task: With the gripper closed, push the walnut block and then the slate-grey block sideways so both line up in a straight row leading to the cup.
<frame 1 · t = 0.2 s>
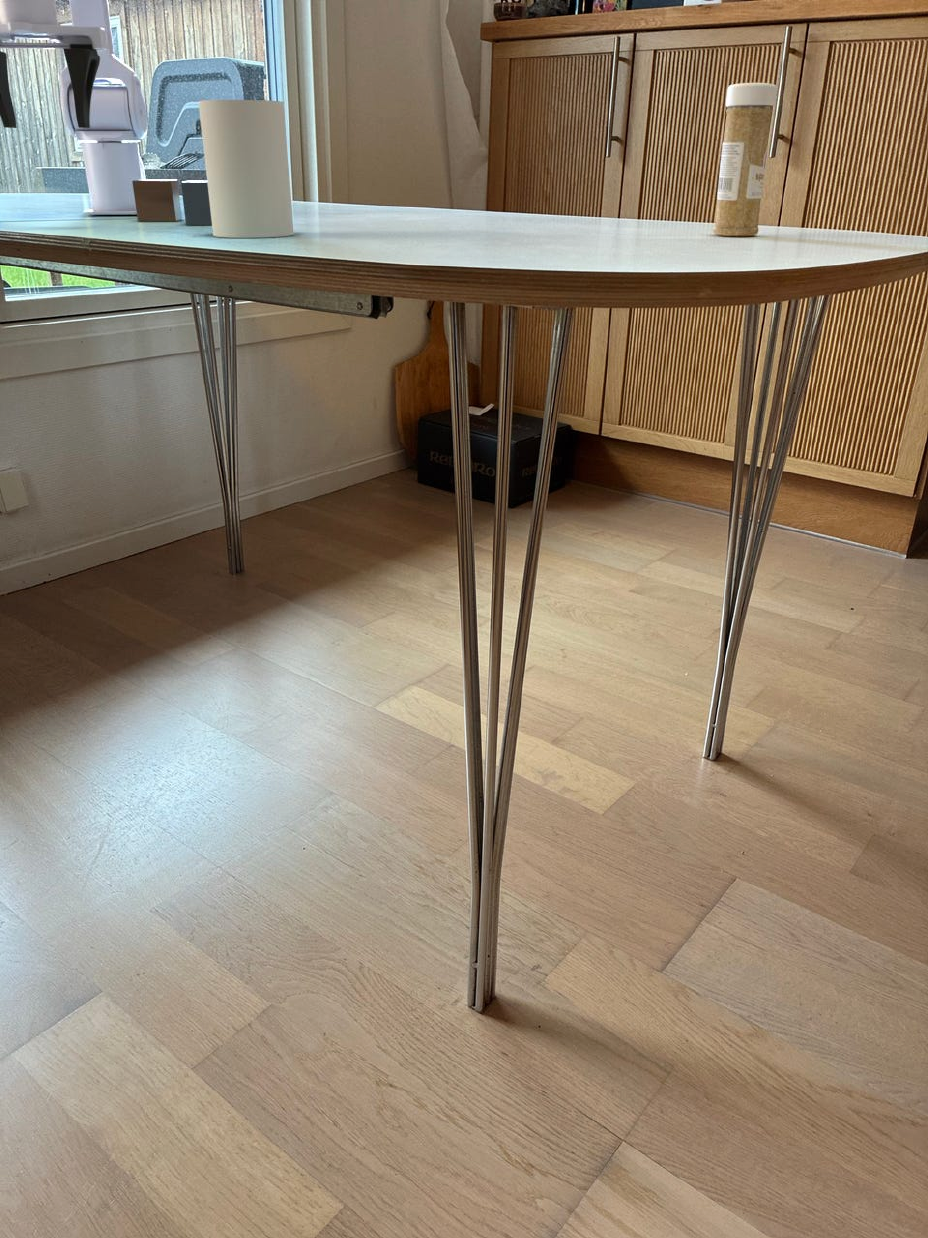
hand: (47, 127, 101), 10 cm above the table, tool pointing down, fingers open, 7 cm apart
cup: (253, 236, 97), on the table
walnut block: (160, 220, 118), on the table
slate block: (208, 223, 112), on the table
spice jar: (734, 237, 96), on the table
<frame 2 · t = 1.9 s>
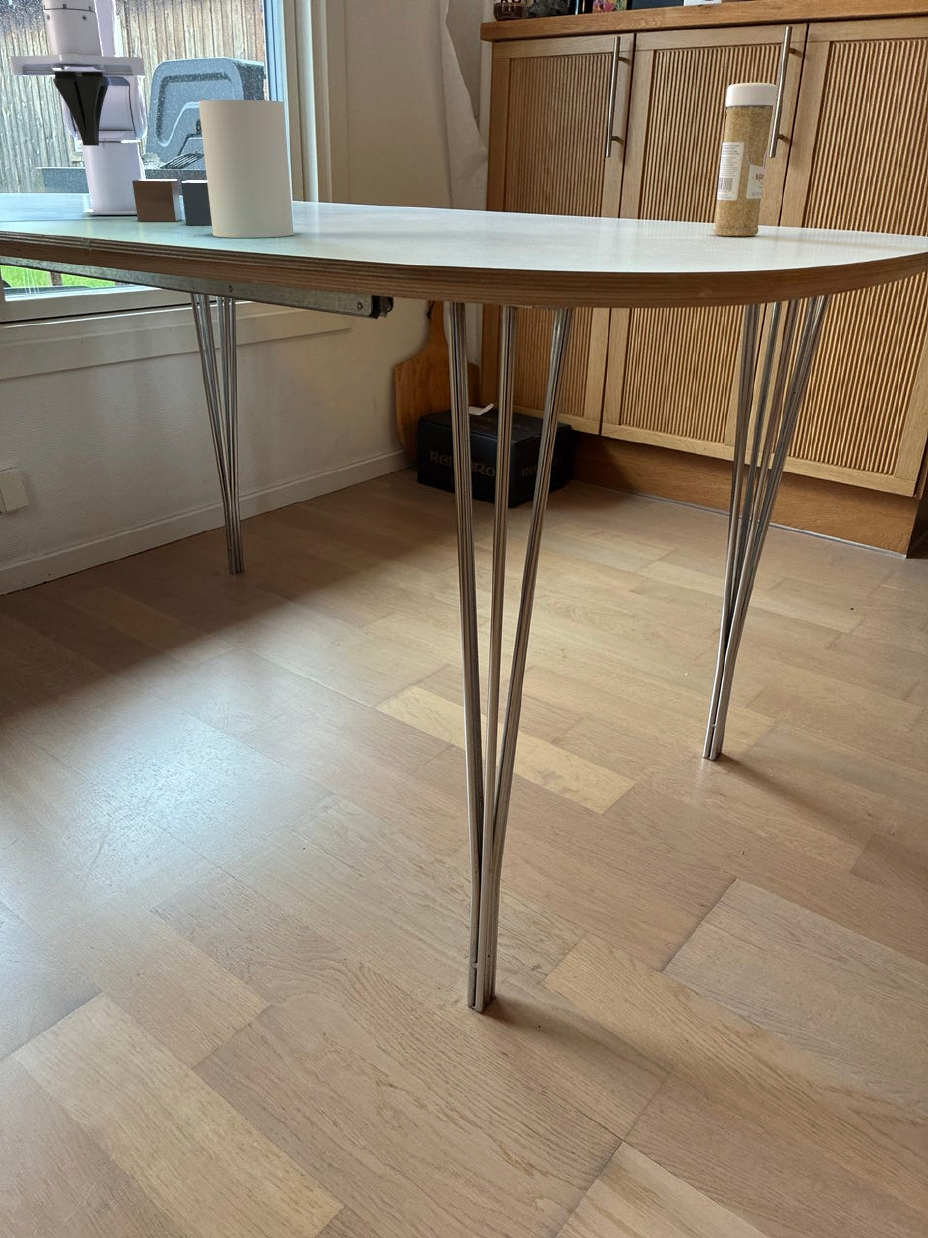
hand: (91, 145, 113), 8 cm above the table, tool pointing down, fingers closed
nothing on the table moved.
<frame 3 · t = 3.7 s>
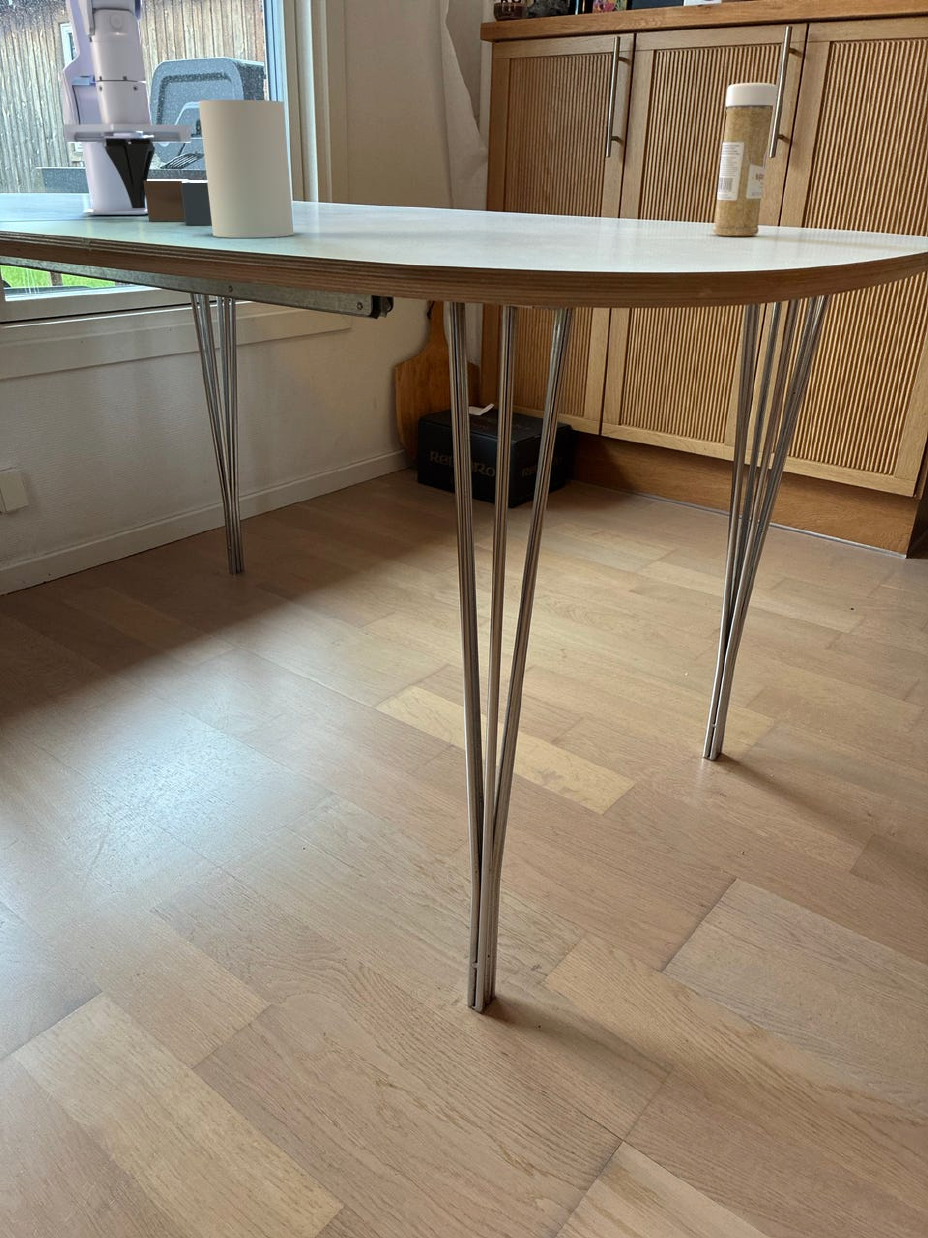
hand: (138, 208, 117), 1 cm above the table, tool pointing down, fingers closed
walnut block: (171, 220, 118), on the table, touching gripper
everything else where it was.
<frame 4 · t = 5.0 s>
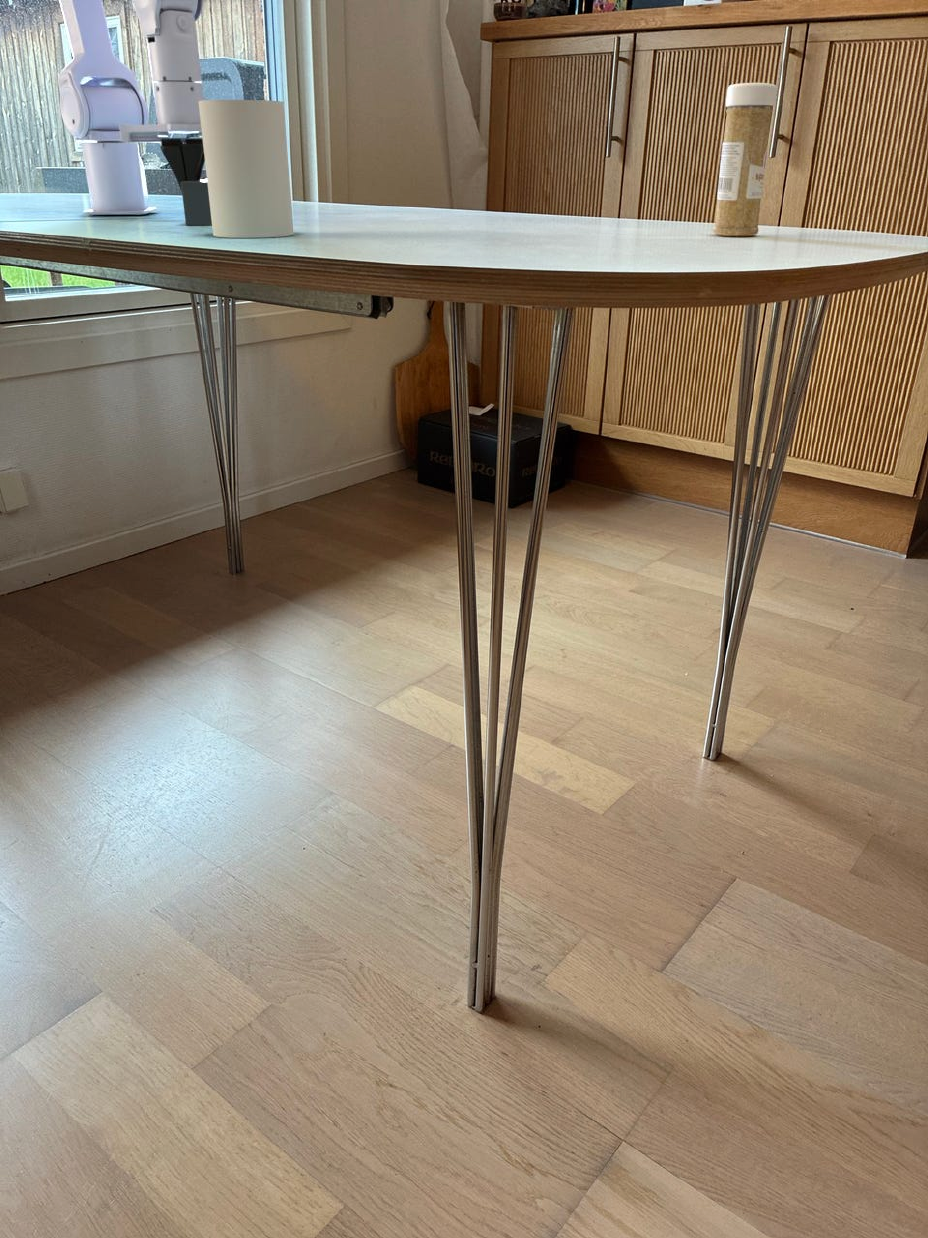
hand: (192, 207, 118), 1 cm above the table, tool pointing down, fingers closed
walnut block: (223, 219, 118), on the table, touching gripper
everything else where it was.
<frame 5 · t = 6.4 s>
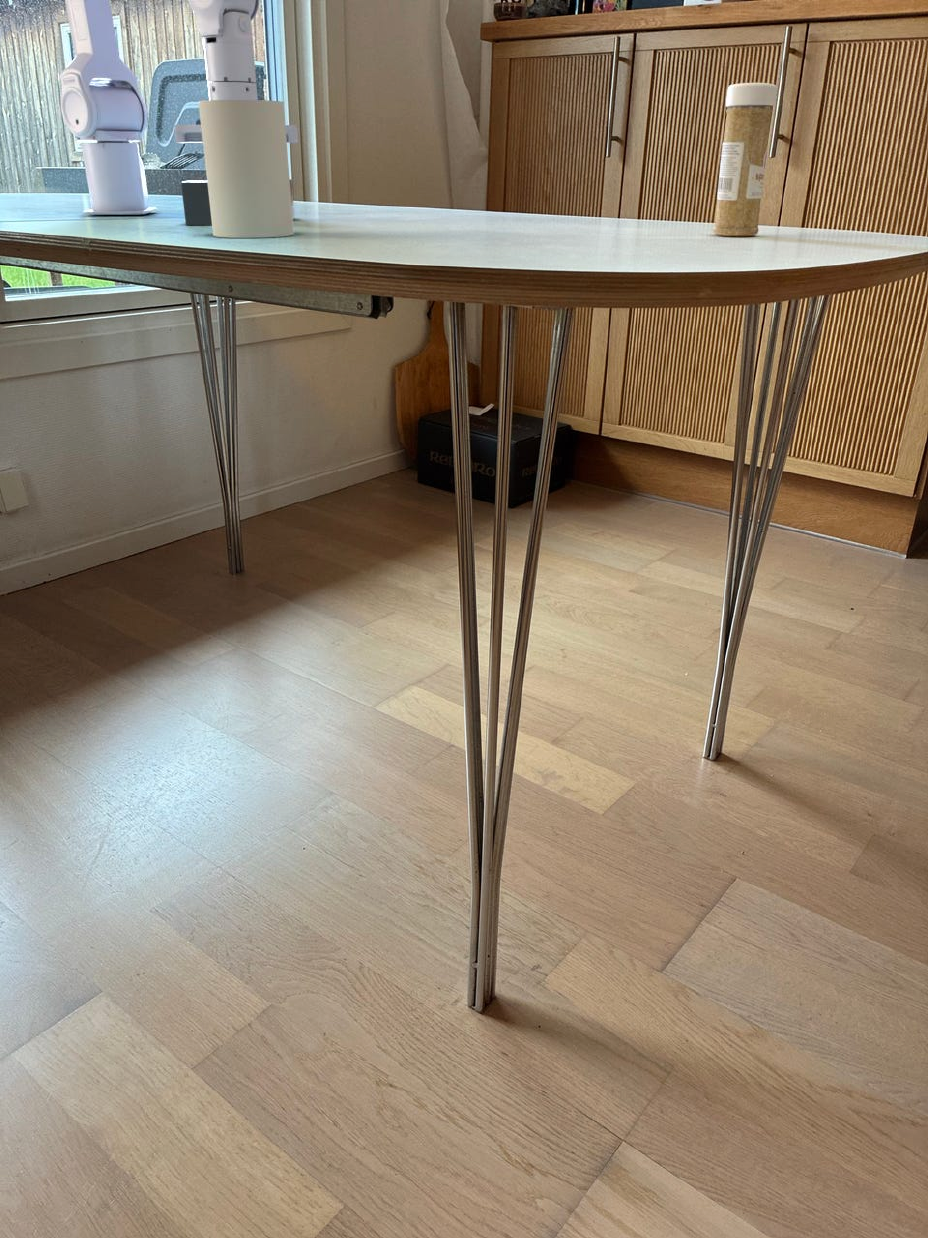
hand: (244, 207, 118), 1 cm above the table, tool pointing down, fingers closed
walnut block: (274, 219, 119), on the table, touching gripper
everything else where it was.
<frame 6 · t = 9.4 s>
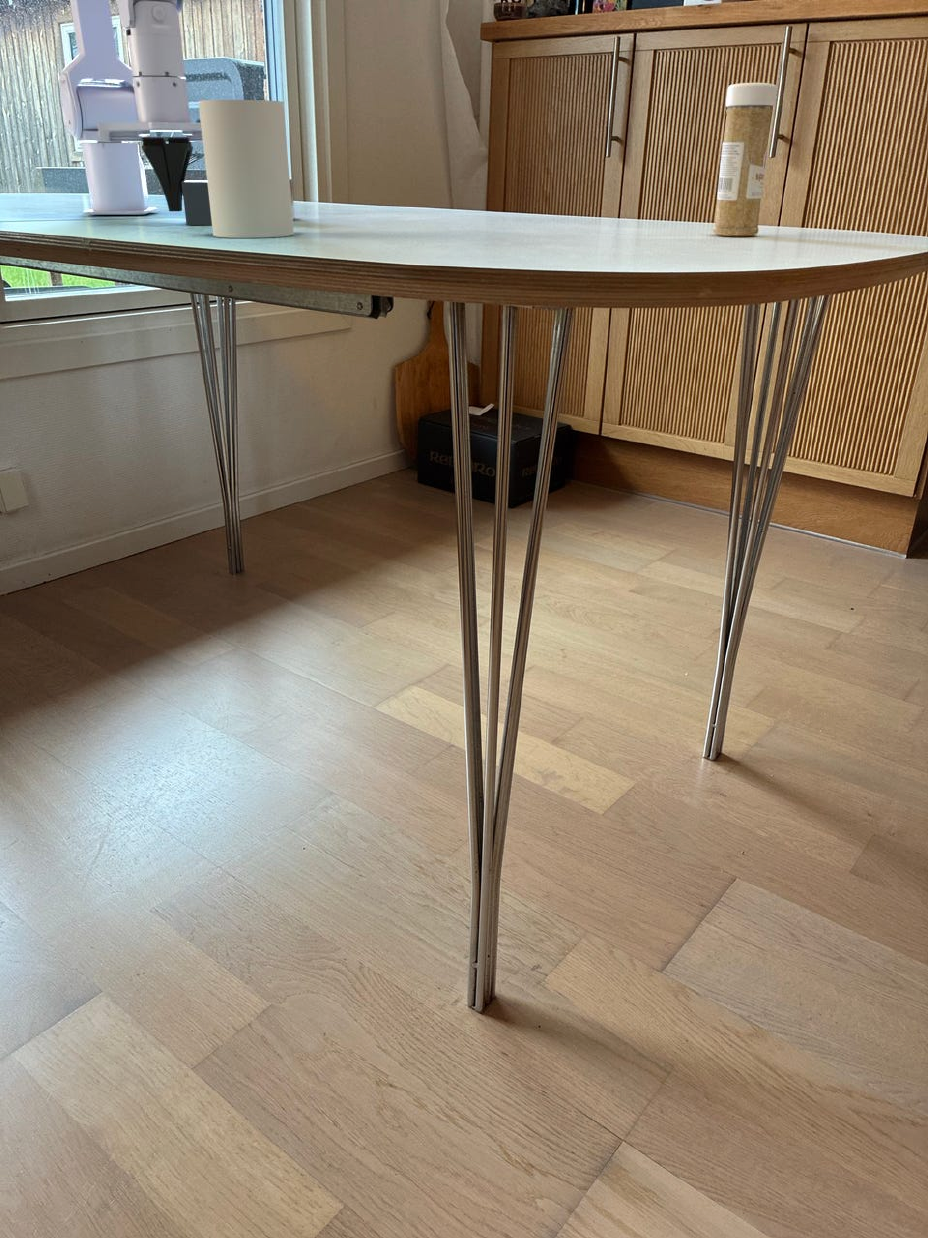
hand: (175, 210, 111), 1 cm above the table, tool pointing down, fingers closed
walnut block: (275, 219, 119), on the table
slate block: (209, 223, 112), on the table, touching gripper
everything else where it was.
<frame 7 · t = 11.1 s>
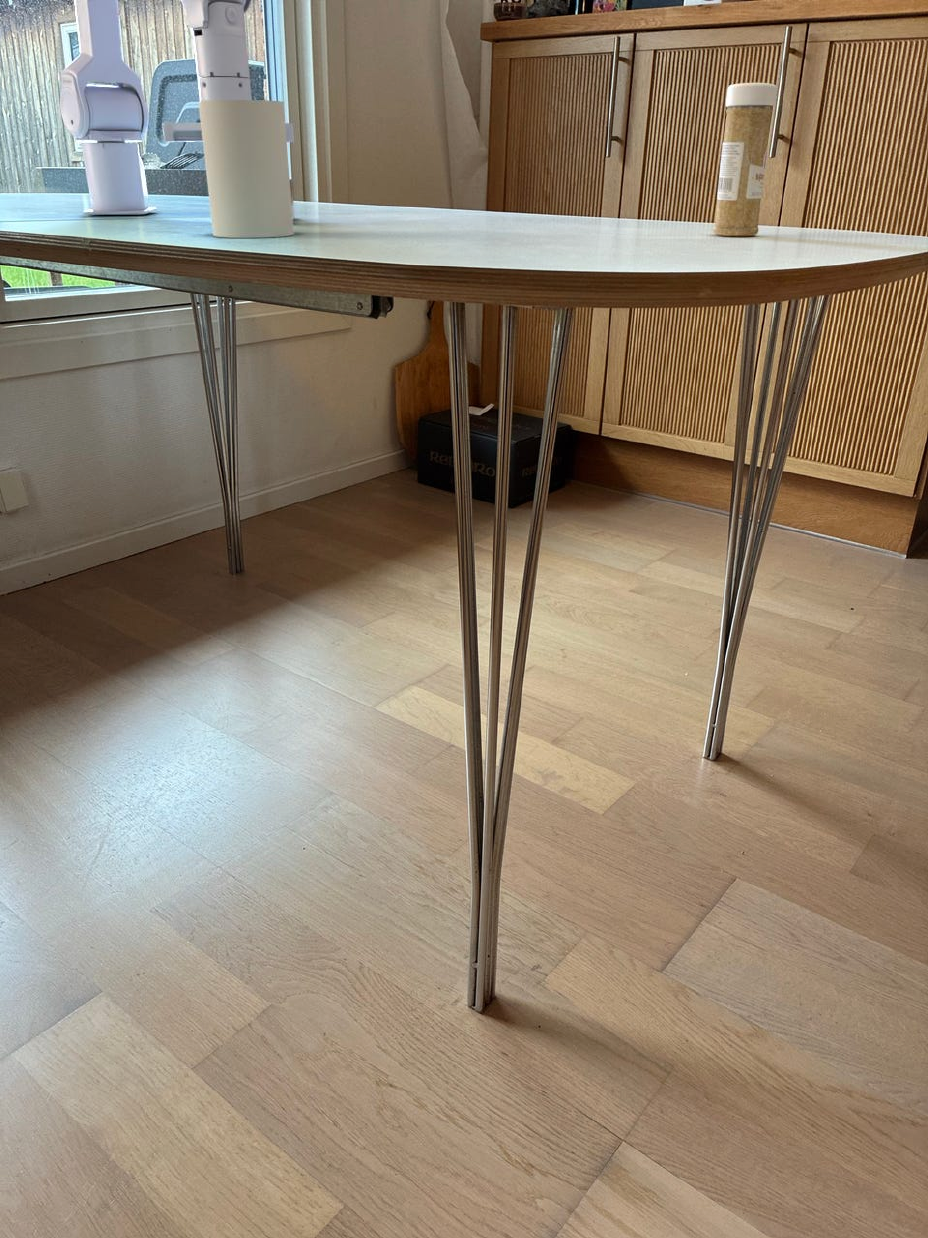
hand: (237, 210, 111), 1 cm above the table, tool pointing down, fingers closed
slate block: (269, 223, 112), on the table, touching gripper
everything else where it was.
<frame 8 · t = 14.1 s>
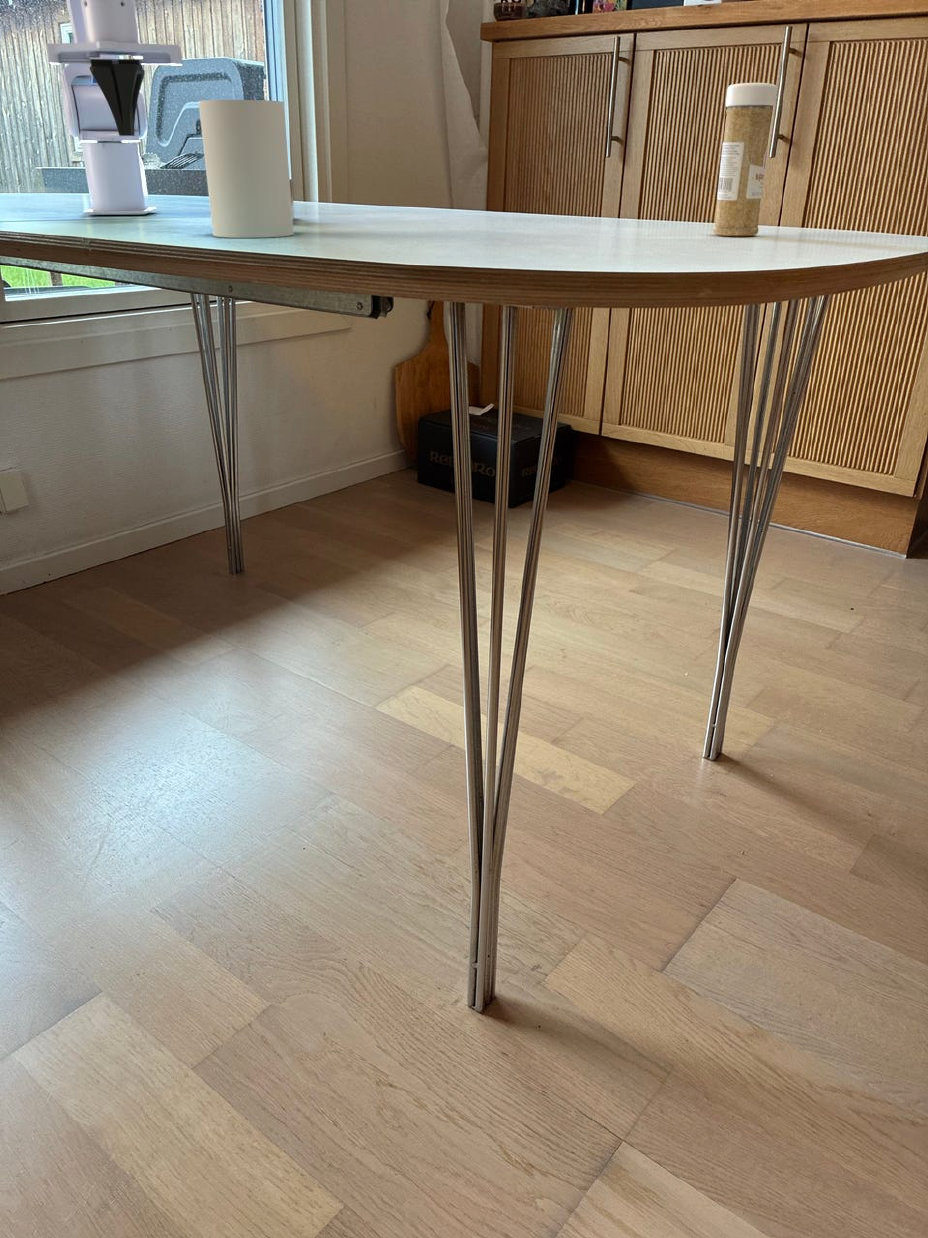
hand: (126, 135, 111), 9 cm above the table, tool pointing down, fingers closed
slate block: (270, 223, 112), on the table
everything else where it was.
at the end: walnut block 0.9 cm from the target spot on the table beside the cup, on the table; slate block 0.9 cm from the target spot on the table beside the cup, on the table; cup moved 0.2 cm from its start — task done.
